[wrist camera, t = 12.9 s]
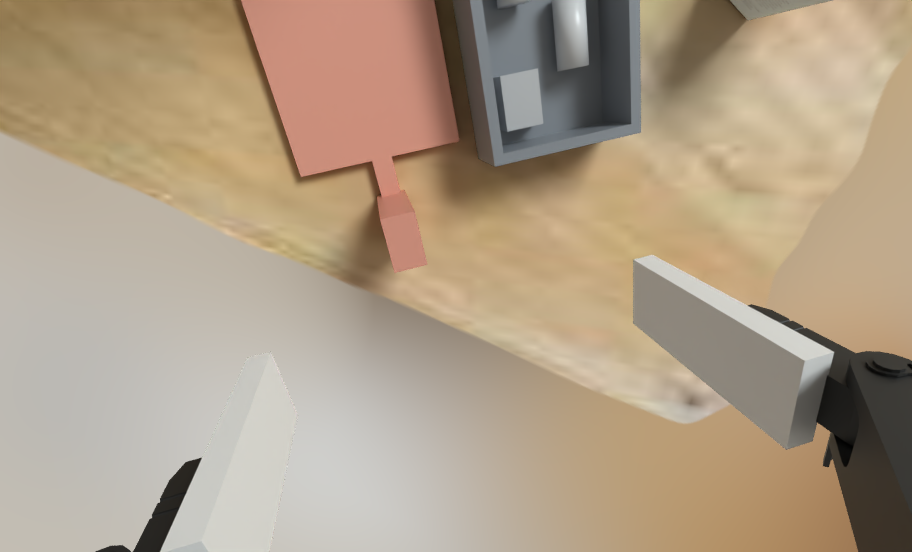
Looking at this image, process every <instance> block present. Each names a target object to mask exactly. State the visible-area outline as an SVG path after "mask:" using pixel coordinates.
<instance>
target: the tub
mask: <svg viewBox="0 0 912 552" xmlns="http://www.w3.org/2000/svg"><path fill="white" fill-rule="evenodd" d="M452 1H453V7H454V13H455V19H456V25H457V31H458V37H459V43H460V49H461V55H462V61H463V68H464V74H465V80H466V86H467V92H468V98H469V104H470V110H471V116H472V122H473V128H474V134H475V140H476V146H477V152H478V159H480V160H482V161H484V162H486V163H488V164H490V165H492V166H495V167H496V166H500V165H504V164H509V163H513V162H517V161H521V160H526V159H530V158H534V157H538V156H543V155H547V154H551V153H556V152H560V151H564V150H568V149H573V148H577V147H581V146H585V145H590V144H594V143H598V142H602V141H607V140H611V139H615V138H620V137H624V136H628V135H632V134H637V133H641V82H640V0H452Z"/></svg>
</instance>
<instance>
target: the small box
mask: <svg viewBox="0 0 912 552" xmlns="http://www.w3.org/2000/svg"><path fill="white" fill-rule="evenodd" d="M730 1H731V2H732V3H733V4H734V6H735V7H736V8H737V9H738V10H739V11H740V12H741V13H742V14H743V16H744V17H745V18H746V19H747V20H752V19H756V18H760V17H765V16H769V15H773V14H777V13H782V12H786V11H790V10H794V9H798V8H802V7H807V6H811V5H815V4H819V3H824V2H828V1H832V0H730Z"/></svg>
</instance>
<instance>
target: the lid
mask: <svg viewBox="0 0 912 552" xmlns="http://www.w3.org/2000/svg"><path fill="white" fill-rule="evenodd" d="M241 2H242V5H243V8H244V11H245V14H246V17H247V20H248V22H249V25H250V28H251V31H252V34H253V37H254V40H255V43H256V46H257V49H258V52H259V55H260V58H261V61H262V64H263V67H264V70H265V73H266V75H267V78H268V81H269V84H270V87H271V90H272V93H273V96H274V99H275V102H276V105H277V108H278V111H279V114H280V117H281V120H282V123H283V125H284V128H285V131H286V134H287V137H288V140H289V143H290V146H291V149H292V152H293V155H294V158H295V161H296V164H297V167H298V170H299V173H300V175H301V177H303V176H307V175H312V174H316V173H321V172H325V171H330V170H334V169H339V168H343V167H347V166H352V165H356V164H361V163H365V162H370V161H372V162H373V166H374V170H375V173H376V177H377V181H378V185H379V188H380V192H381V196H377V201H378V208H379V215H380V221H381V225H382V228H383V232H384V236H385V239H386V243H387V247H388V250H389V254H390V258H391V261H392V265H393V268H394V272H395V273H396V272H400V271H404V270H408V269H412V268H416V267H420V266H424V265H427V261H426V257H425V252H424V248H423V244H422V240H421V236H420V231H419V227H418V223H417V219H416V215H415V211H414V209H413V207H412V205H411V203H410V200H409V198H408V196H407V194H406V192H405V190H402V191H400V188H399V184H398V180H397V176H396V172H395V168H394V164H393V160H392V156H396V155H401V154H405V153H410V152H414V151H419V150H423V149H427V148H432V147H436V146H441V145H445V144H450V143H454V142H458V141H459V135H458V130H457V124H456V119H455V113H454V108H453V102H452V96H451V91H450V85H449V80H448V74H447V69H446V63H445V58H444V52H443V47H442V41H441V36H440V30H439V24H438V19H437V13H436V8H435V2H434V0H241Z"/></svg>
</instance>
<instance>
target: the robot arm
mask: <svg viewBox="0 0 912 552" xmlns="http://www.w3.org/2000/svg"><path fill="white" fill-rule="evenodd" d="M633 324H635V325H636V326H637V327H638V328H639V329H641V330H642V331H643V332H644V333H645V334H647V335H648V336H649V337H650V338H652V339H653V340H654V341H655V342H656V343H658V344H659V345H660V346H661V347H662V348H664V349H665V350H666V351H667V352H668V353H670V354H671V355H672V356H673V357H675V358H676V359H677V360H678V361H679V362H681V363H682V364H683V365H684V366H685V367H687V368H688V369H689V370H690V371H691V372H693V373H694V374H695V375H696V376H698V377H699V378H700V379H701V380H702V381H704V382H705V383H706V384H707V385H708V386H710V387H711V388H712V389H713V390H714V391H716V392H717V393H718V394H719V395H721V396H722V397H723V398H724V399H725V400H727V401H728V402H729V403H730V404H731V405H733V406H734V407H735V408H736V409H738V410H739V411H740V412H741V413H742V414H744V415H745V416H746V417H747V418H748V419H750V420H751V421H752V422H753V423H754V424H756V425H757V426H758V427H759V428H760V429H762V430H763V431H764V432H765V433H767V434H768V435H769V436H770V437H772V438H773V439H774V440H775V441H776V442H777V443H779V444H780V445H781V446H782V447H783V448H785V449H786V450H787V449H790V448H793V447H796V446H799V445H802V444H805V443H808V442H811V441H813V437H814V433H815V429H816V425H817V422H818V423H819V424H820V425H822V426H823V427H825V428H826V429H827V430H829V431H830V432H831V433H830V437H829V440H828V444H827V449H826V452H825V456H824V460H823V466H825V467H829V464H830V461H831V460H832V459H833V461H834V465H835V468H836V472H837V476H838V479H839V483H840V486H841V490H842V494H843V497H844V501H845V505H846V508H847V512H848V515H849V519H850V523H851V527H852V530H853V534H854V537H855V541H856V544H857V548H858V552H912V361H911V360H909V359H906V358H903V357H900V356H897V355H894V354H889V353H883V352H871V351H866V352H860V353H854V352H852V351H850V350H848V349H847V348H845V347H843V346H841V345H839V344H837V343H835V342H833V341H831V340H829V339H827V338H825V337H823V336H821V335H819V334H817V333H815V332H813V331H811V330H809V329H807V328H805V329H804V328H803V326H801V325H800V324H798V323H796V322H794V321H790V320H789V319H788V318H786V317H784V316H782V315H780V314H778V313H776V312H774V311H773V310H769V309H766V308H762V307H759V306H755V305H752V304H751V305H748V306H747V305H745V304H743V303H741V302H740V301H738V300H736V299H734V298H732V297H730V296H728V295H727V294H725V293H723V292H721V291H719V290H717V289H715V288H713V287H712V286H710V285H708V284H706V283H704V282H702V281H700V280H698V279H697V278H695V277H693V276H691V275H689V274H687V273H685V272H683V271H682V270H680V269H678V268H676V267H674V266H672V265H670V264H668V263H667V262H665V261H663V260H661V259H659V258H657V257H655V256H654V255H650V256H646V257H642V258H638V259H634V260H633ZM297 417H298V414H297V412H296V409H295V407H294V404H293V402H292V400H291V397H290V395H289V393H288V391H287V388H286V386H285V383H284V381H283V379H282V377H281V374H280V372H279V369H278V367H277V365H276V362H275V360H274V358H273V355H272V353H271V352H268V353H263V354H260V355H256V356H252V357H248V358H247V359H246V362H245V364H244V366H243V368H242V371H241V373H240V375H239V377H238V379H237V382H236V384H235V386H234V388H233V391H232V393H231V395H230V397H229V399H228V402H227V404H226V406H225V408H224V411H223V413H222V415H221V417H220V419H219V422H218V424H217V426H216V428H215V431H214V433H213V435H212V437H211V439H210V442H209V444H208V446H207V448H206V451H205V453H204V455H203V457H202V458H199V459H196V460H192V461H188V462H186V463H185V464H184V465H183V466H182V467H181V468H180V469H179V470H178V472H177V473H176V474H175V475H174V476H173V477H172V478H171V479H170V480H169V482H168V484H167V486H166V488H165V490H164V492H163V494H162V496H161V498H160V503H158V504H157V506H156V508H155V510H154V512H153V514H152V518H151V519H150V520H149V522H148V524H147V525H146V527H145V529H144V531H143V533H142V535H141V537H140V539H139V541H138V543H137V545H136V547H135V549H134V551H133V552H270V547H271V542H272V538H273V532H274V527H275V523H276V518H277V513H278V508H279V503H280V499H281V494H282V489H283V484H284V480H285V475H286V469H287V465H288V460H289V455H290V450H291V446H292V441H293V436H294V431H295V426H296V421H297ZM96 552H131V551H130V550H129V549H127V548H126V547H124V546H123V545H119V546H109V547H106V548H104V549H101V550H99V551H96Z"/></svg>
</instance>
